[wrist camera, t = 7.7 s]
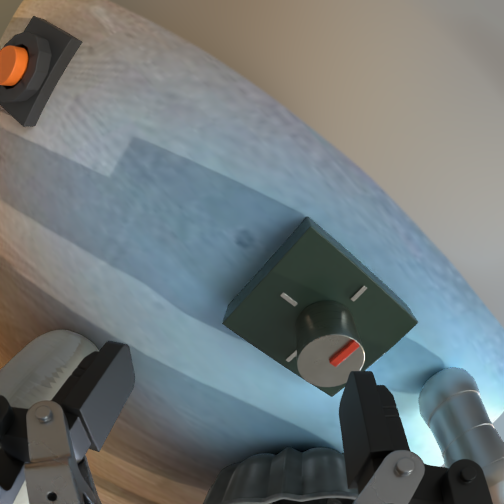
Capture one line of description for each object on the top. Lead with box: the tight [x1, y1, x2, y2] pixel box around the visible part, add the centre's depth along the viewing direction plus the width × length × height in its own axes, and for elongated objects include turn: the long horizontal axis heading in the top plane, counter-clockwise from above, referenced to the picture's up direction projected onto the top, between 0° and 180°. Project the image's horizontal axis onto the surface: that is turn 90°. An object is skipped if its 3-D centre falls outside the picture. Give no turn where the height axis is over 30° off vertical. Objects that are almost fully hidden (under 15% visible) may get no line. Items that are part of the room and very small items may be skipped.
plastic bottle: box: [418, 367, 504, 504], centre depth 19 cm, size 6×7×20 cm
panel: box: [222, 217, 418, 397], centre depth 25 cm, size 12×10×3 cm
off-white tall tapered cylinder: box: [0, 330, 99, 504], centre depth 18 cm, size 10×10×28 cm
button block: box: [0, 16, 82, 127], centre depth 20 cm, size 9×7×4 cm
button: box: [0, 45, 29, 86], centre depth 18 cm, size 4×4×2 cm
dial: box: [296, 301, 365, 387], centre depth 21 cm, size 4×4×5 cm
